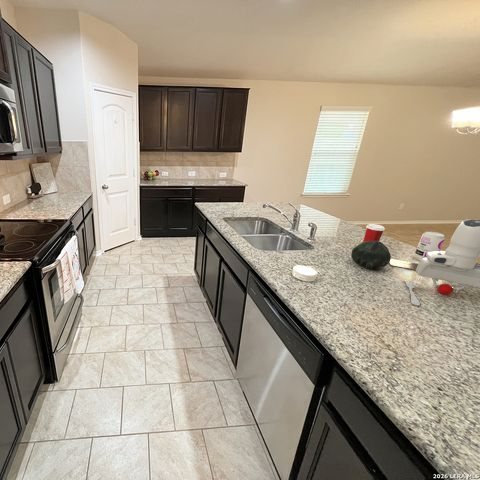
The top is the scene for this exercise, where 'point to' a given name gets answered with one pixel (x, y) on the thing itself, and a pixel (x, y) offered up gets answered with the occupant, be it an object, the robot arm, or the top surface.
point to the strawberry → (445, 289)
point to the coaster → (304, 273)
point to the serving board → (403, 264)
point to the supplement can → (429, 244)
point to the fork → (412, 294)
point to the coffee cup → (373, 232)
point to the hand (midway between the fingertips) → (444, 290)
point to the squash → (371, 254)
